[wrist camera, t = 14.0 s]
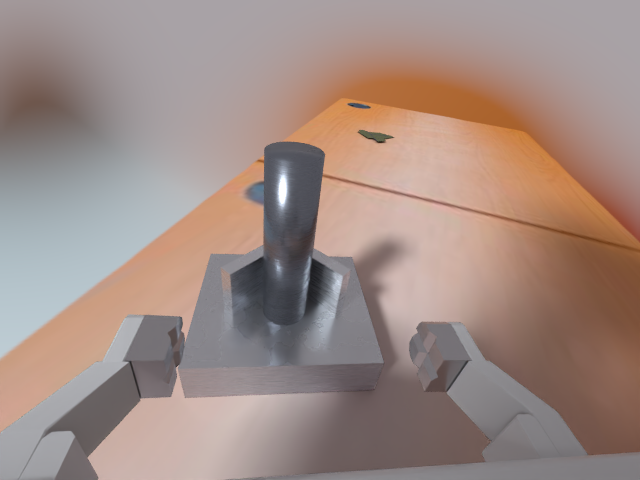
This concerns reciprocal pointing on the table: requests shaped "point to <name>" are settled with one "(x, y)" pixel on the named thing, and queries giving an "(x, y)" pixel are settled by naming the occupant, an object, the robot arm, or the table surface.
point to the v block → (278, 333)
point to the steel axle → (289, 227)
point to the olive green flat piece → (375, 135)
